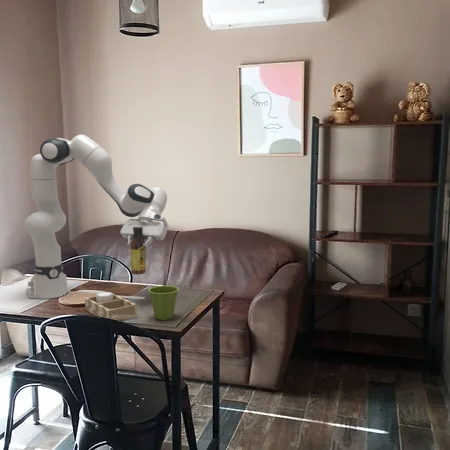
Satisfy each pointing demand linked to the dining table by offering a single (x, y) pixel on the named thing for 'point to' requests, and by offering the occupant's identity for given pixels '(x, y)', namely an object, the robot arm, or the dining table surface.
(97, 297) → the white cylinder
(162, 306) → the plant pot
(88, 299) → the caddy
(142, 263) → the sauce bottle
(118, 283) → the dining table surface
